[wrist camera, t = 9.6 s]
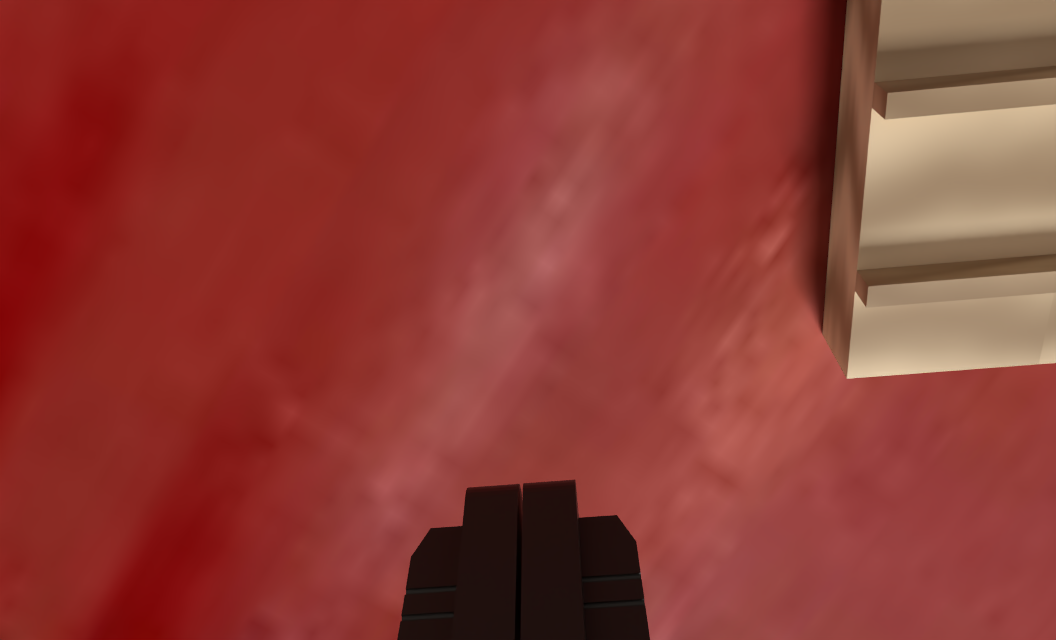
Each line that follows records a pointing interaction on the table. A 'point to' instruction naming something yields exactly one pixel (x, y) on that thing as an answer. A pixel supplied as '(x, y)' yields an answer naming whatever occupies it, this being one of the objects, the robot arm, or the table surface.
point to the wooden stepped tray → (944, 188)
